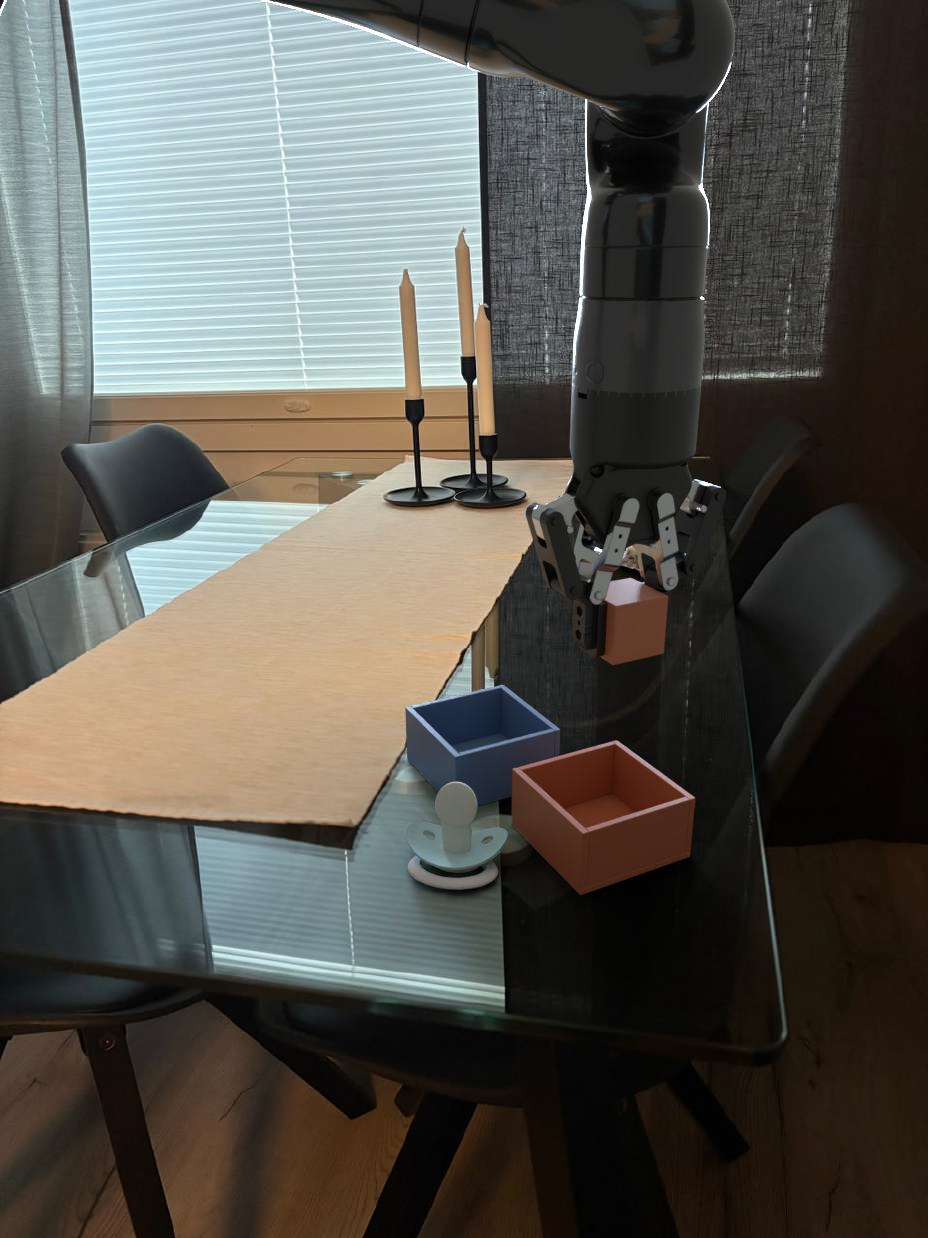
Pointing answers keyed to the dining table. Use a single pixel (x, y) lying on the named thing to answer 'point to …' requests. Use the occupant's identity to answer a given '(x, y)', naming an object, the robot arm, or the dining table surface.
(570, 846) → the terracotta bin
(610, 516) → the robot arm
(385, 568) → the dining table surface
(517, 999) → the dining table surface
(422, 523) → the dining table surface
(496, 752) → the blue bin
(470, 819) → the pacifier
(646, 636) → the block
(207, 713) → the dining table surface
